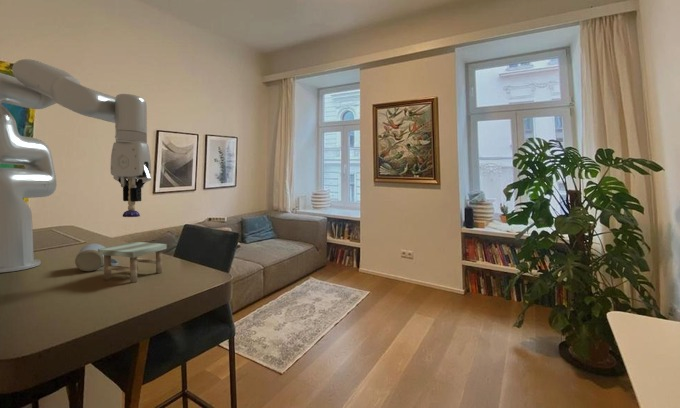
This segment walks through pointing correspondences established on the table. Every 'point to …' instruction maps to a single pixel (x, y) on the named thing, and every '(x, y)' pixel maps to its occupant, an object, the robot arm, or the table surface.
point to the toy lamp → (130, 204)
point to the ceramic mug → (91, 258)
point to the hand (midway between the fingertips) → (132, 200)
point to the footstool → (132, 257)
